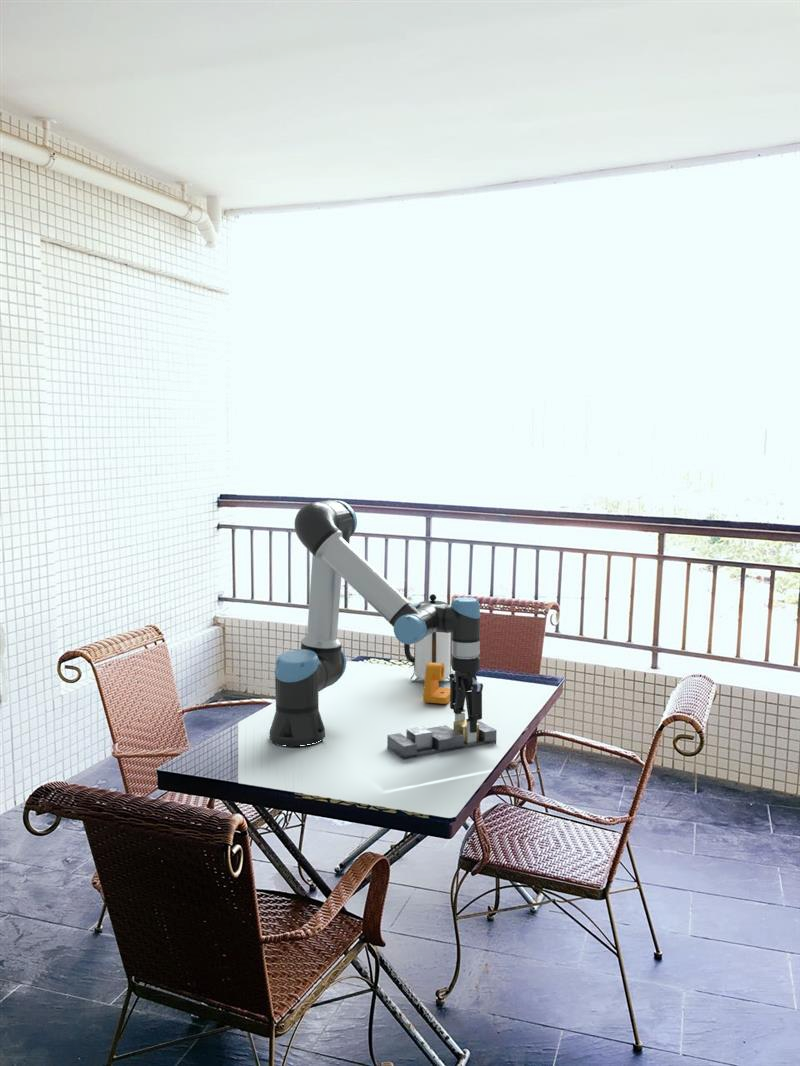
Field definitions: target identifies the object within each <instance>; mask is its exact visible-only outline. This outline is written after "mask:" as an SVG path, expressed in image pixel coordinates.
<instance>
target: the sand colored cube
mask: <svg viewBox="0 0 800 1066" xmlns="http://www.w3.org/2000/svg"><path fill="white" fill-rule="evenodd" d="M452 729H453V730H455V731H456V732H458V733H460V734H461V735H463V736H464V743H466V719H465V720H460V721H455V720H454V721H453V728H452ZM476 741H479V724H478V723H477V732H476Z"/></svg>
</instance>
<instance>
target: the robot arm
mask: <svg viewBox="0 0 800 1066" xmlns="http://www.w3.org/2000/svg"><path fill="white" fill-rule="evenodd" d="M357 525H358V519H357V514H356V512H355V511H354V509H353V508H352V506H351V505H349V504H348V503H347V502H345V501H343V500H338V499H326V500H322V501H314V502H310V503H306V504H305V505H303V506H302V507H301V508H300V509H299V510H298V512H297V513H296V515H295V518H294V531H295V534H296V536H297V539H298V540H299V541H300V543H301V544H302V545H303V546H304V547H305V548H306V549H307V551H309V552H310V554H312V556H311V557H312V558H311V570H310V571H311V574H310V588H309V600H308V601H309V602H308V614H307V615H308V618H307V631H306V632H307V633H306V635H305V636H304V637H303V638H302V639H301V641H300V648H299V649H292V650H289V651H285V652H284V653H281V654H280V655H278V656H277V658H276V660H275V664H274V665H275V667H274V678H275V679H274V681H275V682H274V683H275V686H274V687H275V688H274V689H275V712H274V716H273V720H272V721H271V722H272V723H271V726H270V729H269V741H270V740H271V741H272V742H273V743H272V742H271V741H270V742H271V743H272V744H274V743H275V744H274V745H276V744H279V745H278V746H280V745H286V746H300V745H307V744H312V743H316V742H318V741H320V740H324V739H325V738H326V728H325V724H324V722H323V718H322V715H321V713H320V709H319V692H321V691H323V690H325V689H326V688H327V687H330V686H332V685H334V684H335V683H337V682H338V681H339V680H340V679H341V678H342V676H343V675H344V673H345V671H346V668H347V658H346V655H345V652H344V651H343V649H342V648H343V647H342V646H343V645H342V644H343V643H342V641H341V640H340V638H338V631H339V629H338V628H339V627H338V626H339V614H340V602H341V601H340V600H341V588H342V578H343V580H344V581H345V582H346V583H347V584H348V585H349V586H350V587H352V588H353V590H355V591H356V592H357V593H358V594H359V596H361V597H362V598H363V599H364V600H365V601H366V602H367V603H368V604H369V605H370V607H372V608H373V609H374V610H375V611H376V612H377V613H379V614H380V616H382V617H383V618H384V619H385V621H387V622H388V623H389V624H390V625H391V627H393V632H394V636H395V638H396V639H397V640H398V641H399V642H400V643H402V644H403V645H404V644H410V645H414V643H416V642H419V641H420V640H422V639H423V638H424V637H426V636H428V635H429V634H431V633H433V632H444V633H451V671H453V673H452V672H451V673H450V674H449V677H448V678H449V679H450V680H449V681H450V684H449V685H450V686H449V688H450V702H449V708H450V709H451V710H453V713H454V721H460V720H466V743H470V742H475V741H476V732H477V720H479V721H480V720H482V719H483V688H484V683H482V682H481V683H479V682H478V679H477V672H479V671H480V669H481V658H480V656H479V655H480V654H481V650H480V649H481V648H480V645H481V641H480V639H481V609H480V605H481V604H480V602H479V600H478V599H477V598H475V597H468V596H463V597H455V598H453V599H452V600H451V604H448V605H442V604H428V603H420V602H413V603H411V602H410V601H409V600H408V599H407V598H406V596H404V595H402V593H400V591H399V590H397V589H396V588H395V587H394V586H393V585H392V584H391V583H390V582H389V581H388V580H387V579H386V578H385V577H384V576H383V575H382V574H381V573H380V572H379V571H378V570H376V569H375V567H373V566H372V565H371V564H370V563H369V561H367V560H366V559H365V558H364V557H363V556H362V555H361V554H360V553H359V552H358V551H357V550H356V549H355V548H354V547H352V545H351V544H350V539H351V537H352V536H353V535H354V534H355V531H356V529H357ZM465 704H466V710H465ZM466 711H467V712H466ZM465 712H466V713H465ZM466 714H467V718H466Z"/></svg>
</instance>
